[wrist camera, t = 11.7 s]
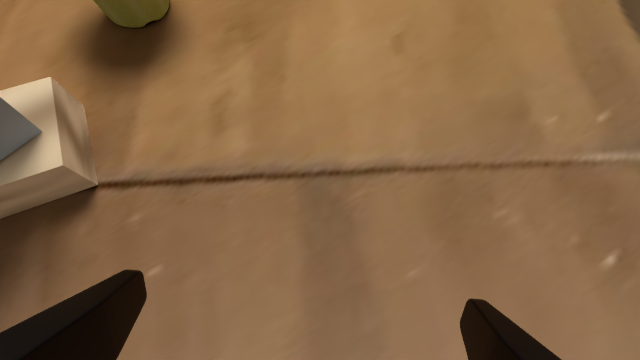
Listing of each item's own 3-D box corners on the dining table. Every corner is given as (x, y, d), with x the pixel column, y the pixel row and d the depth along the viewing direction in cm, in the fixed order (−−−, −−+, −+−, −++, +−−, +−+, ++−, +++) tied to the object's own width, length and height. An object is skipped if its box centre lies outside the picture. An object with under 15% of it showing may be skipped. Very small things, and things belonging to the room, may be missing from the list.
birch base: (100, 186, 24) (62, 165, 21) (-11, 225, 23) (-74, 210, 19) (86, 108, 27) (50, 76, 23) (-15, 138, 26) (-70, 110, 22)
